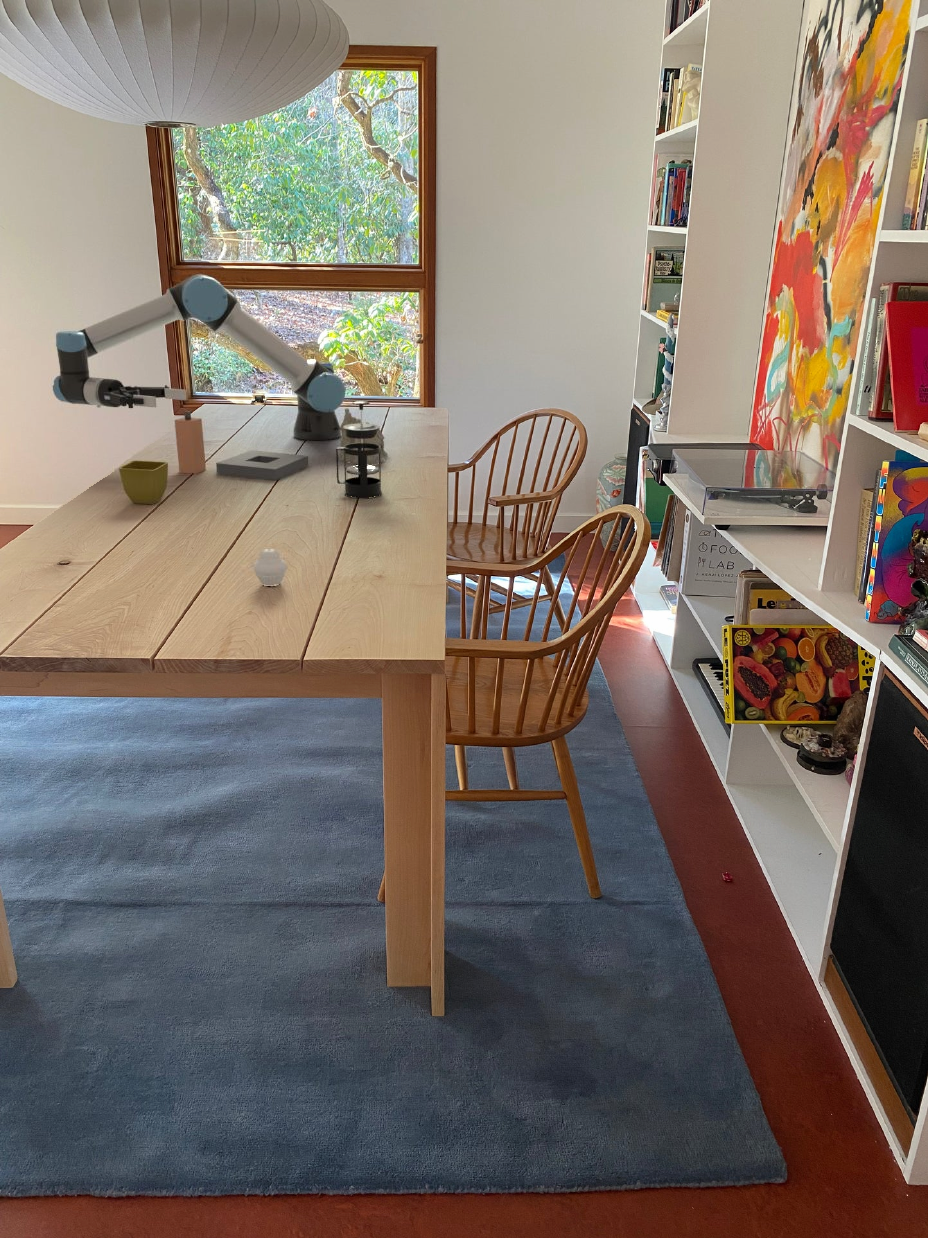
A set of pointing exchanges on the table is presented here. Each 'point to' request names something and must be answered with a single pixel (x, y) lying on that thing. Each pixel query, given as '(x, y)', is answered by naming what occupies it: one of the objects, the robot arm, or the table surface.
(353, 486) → the french press
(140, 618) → the table surface
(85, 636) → the table surface
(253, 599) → the table surface
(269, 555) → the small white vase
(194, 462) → the plug
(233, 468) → the socket
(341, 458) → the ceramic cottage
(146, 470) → the flower pot
